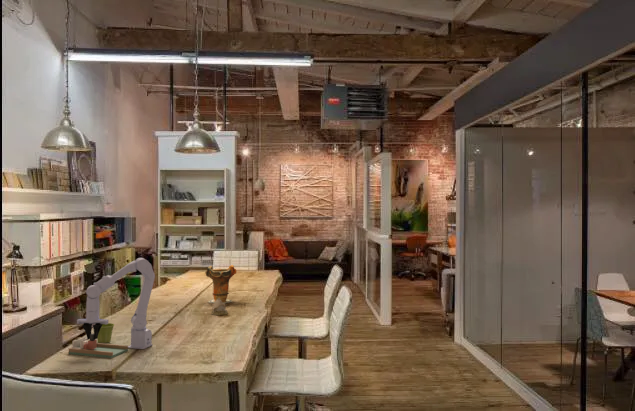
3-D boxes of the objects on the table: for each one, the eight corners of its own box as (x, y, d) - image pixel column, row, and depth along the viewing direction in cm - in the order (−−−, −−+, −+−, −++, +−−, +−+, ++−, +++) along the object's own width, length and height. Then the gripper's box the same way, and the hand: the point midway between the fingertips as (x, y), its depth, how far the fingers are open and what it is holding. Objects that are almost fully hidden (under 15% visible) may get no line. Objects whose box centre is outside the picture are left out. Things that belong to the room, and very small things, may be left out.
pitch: (127, 350, 239) (127, 345, 239) (111, 357, 227) (111, 352, 227) (86, 347, 244) (86, 342, 244) (68, 353, 233) (68, 348, 233)
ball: (82, 343, 240) (87, 349, 239) (76, 345, 236) (81, 351, 236) (86, 337, 240) (92, 343, 239) (81, 340, 236) (86, 345, 235)
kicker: (98, 347, 239) (98, 332, 239) (90, 350, 233) (90, 335, 233) (92, 346, 240) (92, 332, 240) (83, 349, 234) (83, 335, 234)
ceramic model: (229, 314, 325) (230, 299, 325) (213, 315, 320) (213, 300, 320) (224, 310, 337) (224, 295, 338) (207, 311, 333) (208, 297, 333)
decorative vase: (202, 299, 376) (204, 262, 377) (232, 299, 383) (235, 263, 384) (204, 304, 356) (207, 265, 357) (236, 304, 363) (238, 266, 364)
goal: (93, 346, 241) (93, 336, 241) (81, 351, 233) (81, 340, 233) (84, 346, 242) (84, 335, 242) (72, 350, 234) (72, 340, 234)
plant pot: (108, 338, 261) (108, 322, 261) (117, 341, 255) (117, 324, 255) (91, 342, 254) (91, 325, 254) (100, 345, 248) (100, 328, 248)
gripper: (111, 309, 240) (111, 337, 240) (82, 308, 241) (82, 336, 241) (104, 312, 233) (104, 340, 233) (74, 311, 234) (74, 340, 234)
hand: (92, 338), depth 237 cm, fingers open, 3 cm apart
